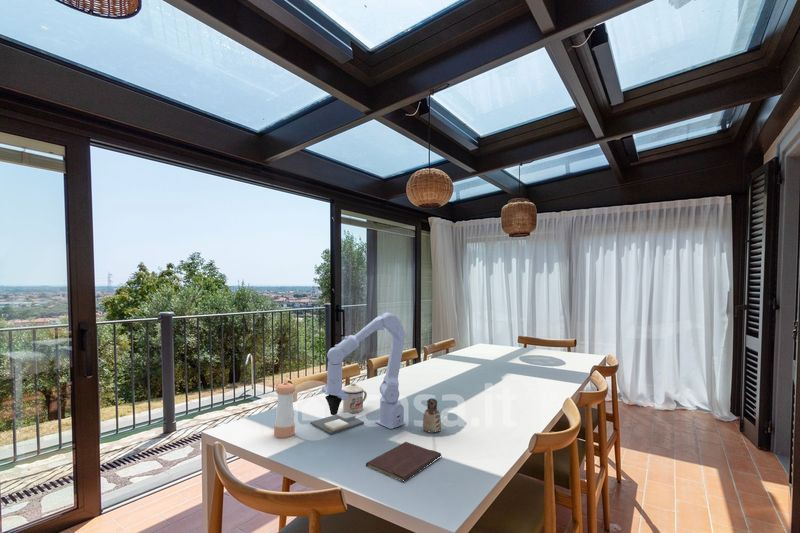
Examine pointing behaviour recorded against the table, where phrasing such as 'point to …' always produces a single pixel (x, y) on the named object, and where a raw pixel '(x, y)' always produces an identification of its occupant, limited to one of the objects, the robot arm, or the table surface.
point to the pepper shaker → (284, 411)
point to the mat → (320, 422)
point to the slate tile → (345, 416)
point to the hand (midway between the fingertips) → (333, 414)
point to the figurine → (431, 417)
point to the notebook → (403, 460)
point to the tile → (336, 425)
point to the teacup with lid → (354, 398)
